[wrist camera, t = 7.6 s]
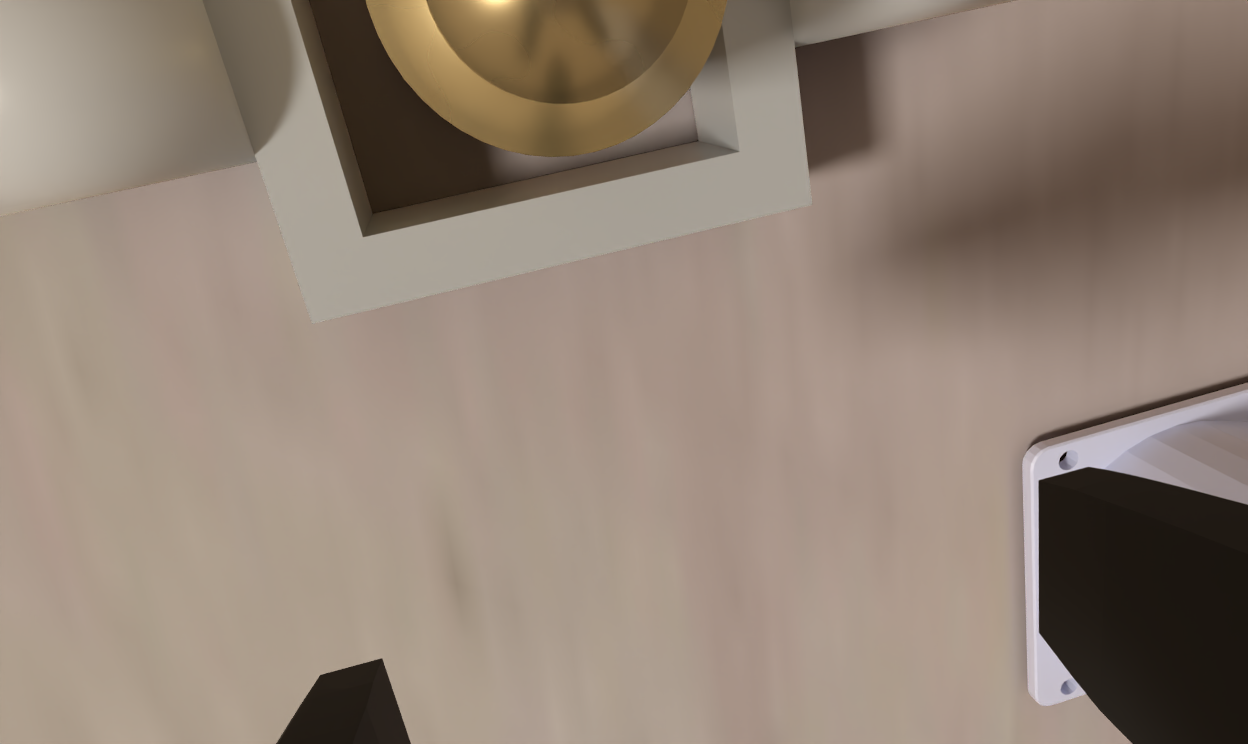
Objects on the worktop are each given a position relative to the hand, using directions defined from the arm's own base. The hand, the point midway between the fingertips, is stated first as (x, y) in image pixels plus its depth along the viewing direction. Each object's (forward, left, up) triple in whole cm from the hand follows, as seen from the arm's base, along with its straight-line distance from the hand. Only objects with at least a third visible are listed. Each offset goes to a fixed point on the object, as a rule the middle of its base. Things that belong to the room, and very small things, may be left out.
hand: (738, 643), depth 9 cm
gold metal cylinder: (0, -7, -10) cm, 12 cm away
